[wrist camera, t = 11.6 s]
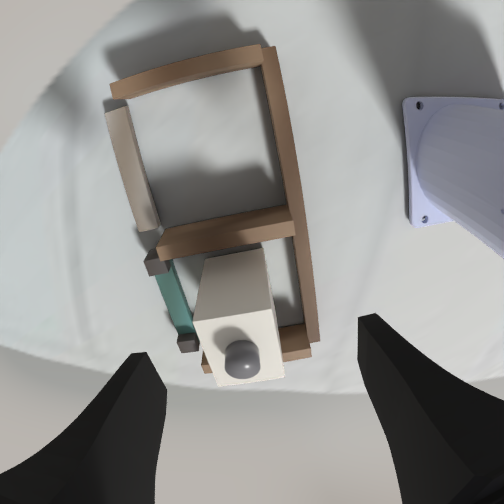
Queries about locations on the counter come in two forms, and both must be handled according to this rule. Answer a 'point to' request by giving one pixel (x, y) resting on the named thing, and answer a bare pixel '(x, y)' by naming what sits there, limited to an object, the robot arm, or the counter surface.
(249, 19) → the counter surface
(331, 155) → the counter surface
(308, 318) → the slot rack
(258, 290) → the plug
